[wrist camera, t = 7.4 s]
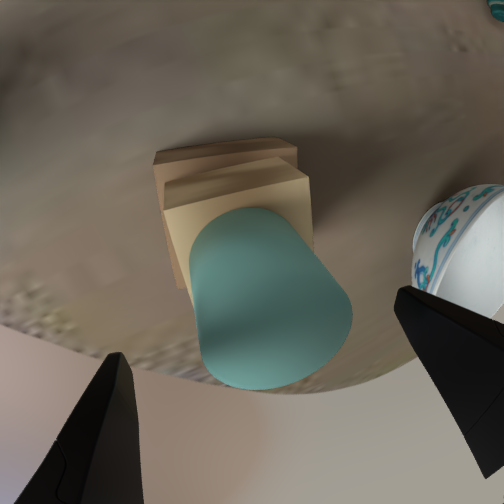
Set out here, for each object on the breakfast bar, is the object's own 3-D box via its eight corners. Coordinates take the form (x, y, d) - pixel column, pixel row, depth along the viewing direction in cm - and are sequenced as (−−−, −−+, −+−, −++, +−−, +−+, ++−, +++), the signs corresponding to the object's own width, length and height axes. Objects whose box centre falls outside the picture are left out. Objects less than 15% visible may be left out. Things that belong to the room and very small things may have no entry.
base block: (175, 256, 22) (177, 289, 18) (156, 151, 18) (152, 165, 15) (277, 238, 23) (297, 266, 20) (274, 136, 19) (297, 147, 16)
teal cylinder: (200, 315, 15) (216, 401, 10) (178, 219, 12) (183, 295, 8) (300, 293, 15) (344, 367, 11) (298, 198, 13) (360, 257, 9)
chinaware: (480, 141, 23) (542, 167, 16) (476, 259, 31) (519, 294, 24) (365, 191, 23) (432, 236, 16) (382, 319, 31) (422, 370, 24)
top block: (191, 279, 18) (199, 323, 15) (164, 182, 15) (163, 210, 12) (289, 253, 19) (315, 291, 16) (278, 156, 16) (308, 176, 13)
